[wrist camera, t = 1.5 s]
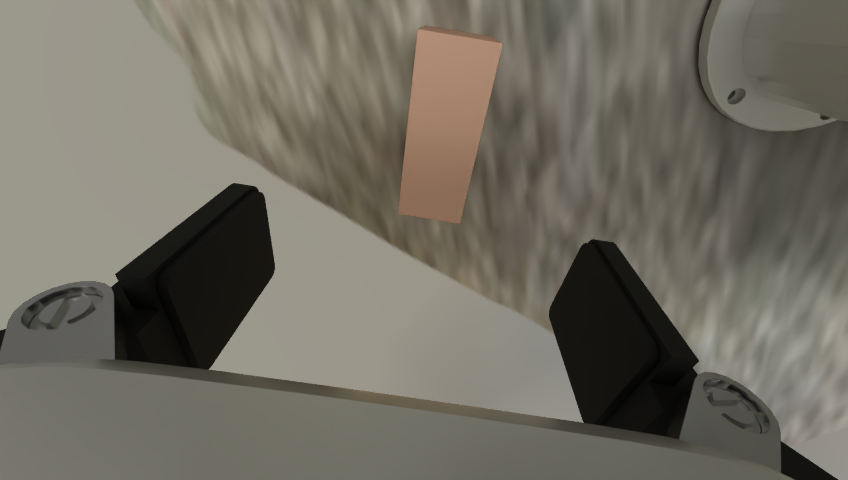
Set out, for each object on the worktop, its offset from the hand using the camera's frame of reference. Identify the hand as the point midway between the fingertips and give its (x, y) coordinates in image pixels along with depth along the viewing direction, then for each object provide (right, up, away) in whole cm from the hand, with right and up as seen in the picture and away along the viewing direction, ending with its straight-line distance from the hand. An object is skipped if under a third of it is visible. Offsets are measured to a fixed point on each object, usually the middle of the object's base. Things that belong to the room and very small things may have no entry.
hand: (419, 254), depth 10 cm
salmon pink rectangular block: (+2, +9, +12) cm, 15 cm away
